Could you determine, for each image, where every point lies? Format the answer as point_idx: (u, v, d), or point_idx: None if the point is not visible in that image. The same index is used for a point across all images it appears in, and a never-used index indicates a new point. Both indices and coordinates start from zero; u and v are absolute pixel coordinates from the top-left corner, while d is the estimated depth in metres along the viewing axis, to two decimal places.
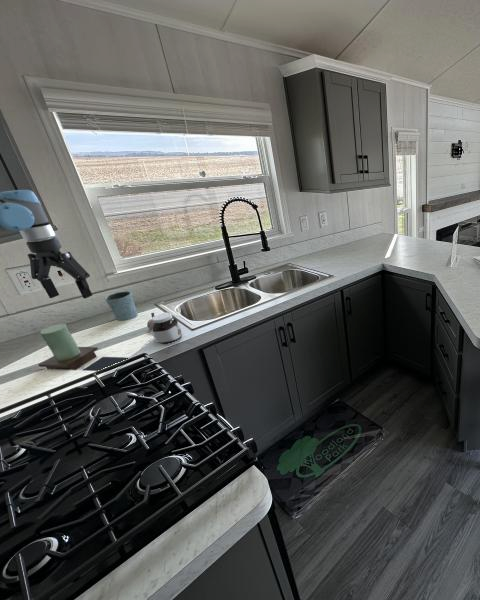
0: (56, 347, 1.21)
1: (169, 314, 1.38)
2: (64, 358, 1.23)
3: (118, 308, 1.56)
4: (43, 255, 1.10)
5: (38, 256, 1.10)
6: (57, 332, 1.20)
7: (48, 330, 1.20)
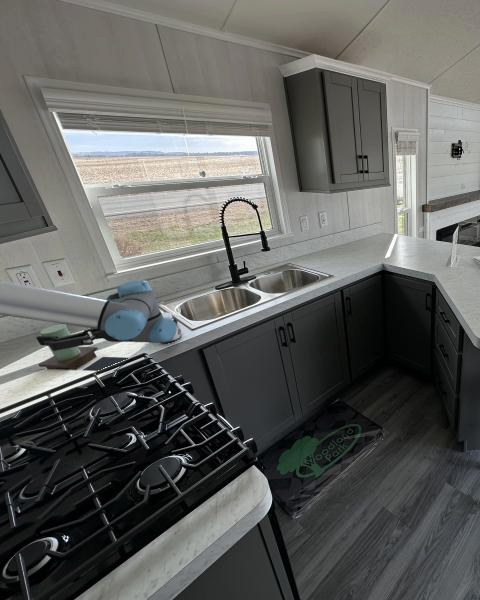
0: None
1: (169, 314, 1.38)
2: (64, 358, 1.23)
3: None
4: None
5: None
6: (57, 332, 1.20)
7: (48, 330, 1.20)
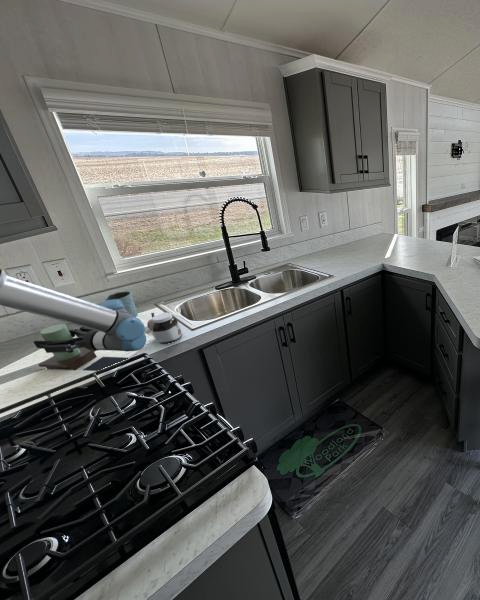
0: None
1: (169, 314, 1.38)
2: (64, 358, 1.23)
3: None
4: None
5: None
6: (57, 332, 1.20)
7: (48, 330, 1.20)
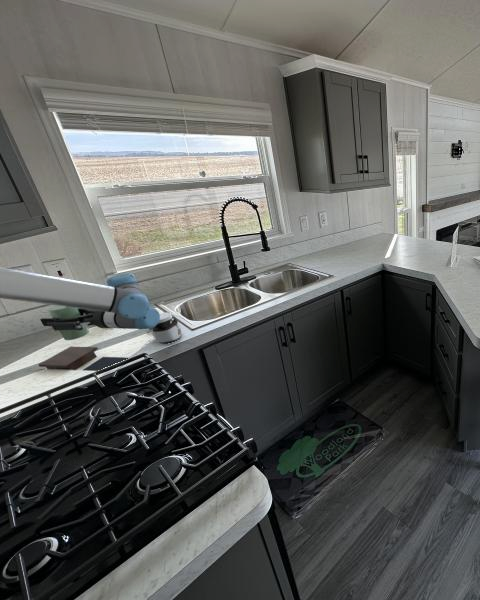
0: None
1: (169, 314, 1.38)
2: (72, 337, 1.16)
3: None
4: None
5: None
6: (65, 309, 1.13)
7: (56, 307, 1.13)
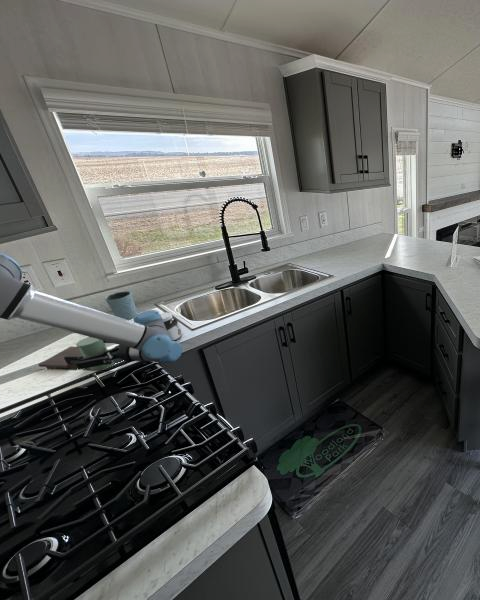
0: None
1: (169, 314, 1.38)
2: (99, 370, 1.21)
3: (118, 308, 1.56)
4: None
5: None
6: (93, 344, 1.18)
7: (84, 342, 1.18)
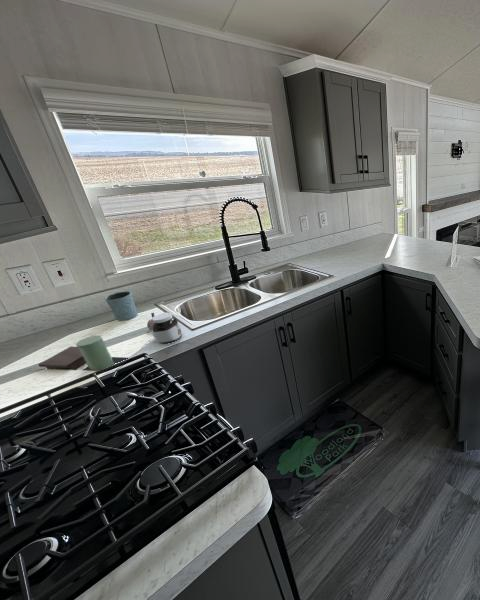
0: (91, 359, 1.19)
1: (169, 314, 1.38)
2: (99, 370, 1.21)
3: (118, 308, 1.56)
4: None
5: None
6: (93, 344, 1.18)
7: (84, 342, 1.18)
